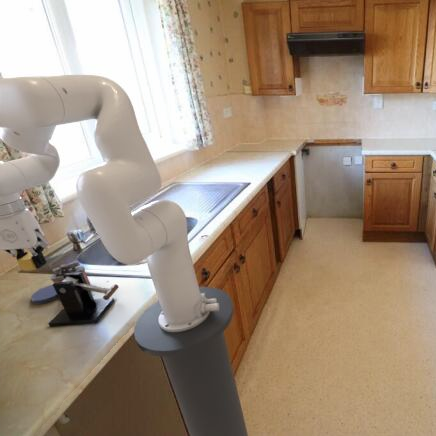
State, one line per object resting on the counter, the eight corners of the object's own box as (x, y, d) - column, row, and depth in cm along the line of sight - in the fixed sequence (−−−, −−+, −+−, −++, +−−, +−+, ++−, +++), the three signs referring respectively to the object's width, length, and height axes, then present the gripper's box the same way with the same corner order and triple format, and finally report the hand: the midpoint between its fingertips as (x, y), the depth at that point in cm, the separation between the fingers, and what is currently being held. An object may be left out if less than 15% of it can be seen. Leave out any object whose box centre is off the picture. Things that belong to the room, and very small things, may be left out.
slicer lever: (118, 290, 90) (119, 283, 89) (108, 302, 85) (109, 295, 84) (70, 280, 87) (70, 273, 86) (57, 292, 83) (57, 284, 82)
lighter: (60, 301, 94) (46, 273, 90) (60, 296, 97) (46, 268, 92) (93, 290, 99) (81, 262, 94) (92, 285, 101) (80, 257, 97)
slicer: (114, 301, 93) (101, 266, 88) (96, 323, 85) (80, 286, 80) (72, 304, 93) (55, 270, 88) (49, 326, 85) (30, 290, 80)
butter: (34, 262, 95) (29, 252, 93) (45, 261, 95) (40, 251, 93) (22, 271, 91) (17, 260, 89) (34, 270, 91) (29, 259, 89)
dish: (71, 286, 101) (70, 282, 101) (54, 302, 94) (52, 299, 93) (45, 287, 101) (43, 284, 100) (25, 304, 93) (23, 301, 93)
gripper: (-41, 215, 81) (-7, 275, 89) (27, 211, 82) (55, 271, 90) (-15, 204, 88) (15, 261, 96) (48, 200, 89) (72, 257, 97)
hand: (34, 265), depth 93 cm, fingers closed on butter, 3 cm apart
